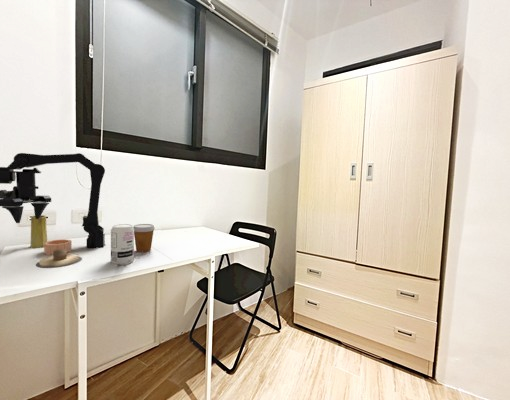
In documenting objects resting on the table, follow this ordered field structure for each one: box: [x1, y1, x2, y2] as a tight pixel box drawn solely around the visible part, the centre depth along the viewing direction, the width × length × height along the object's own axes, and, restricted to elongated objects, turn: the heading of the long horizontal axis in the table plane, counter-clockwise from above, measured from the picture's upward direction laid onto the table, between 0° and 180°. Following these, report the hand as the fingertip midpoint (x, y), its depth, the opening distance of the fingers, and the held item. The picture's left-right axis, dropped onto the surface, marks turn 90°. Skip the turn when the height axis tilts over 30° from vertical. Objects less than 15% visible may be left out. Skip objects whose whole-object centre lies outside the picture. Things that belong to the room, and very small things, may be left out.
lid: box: [38, 249, 80, 268], centre depth 94 cm, size 12×12×4 cm
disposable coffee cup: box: [133, 223, 156, 253], centre depth 115 cm, size 10×10×12 cm
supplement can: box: [110, 223, 135, 266], centre depth 98 cm, size 8×8×15 cm
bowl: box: [43, 238, 73, 256], centre depth 105 cm, size 9×9×5 cm
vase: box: [29, 215, 48, 249], centre depth 112 cm, size 6×6×14 cm
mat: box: [35, 256, 83, 269], centre depth 94 cm, size 14×14×1 cm
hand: (28, 221), depth 102 cm, fingers open, 9 cm apart
